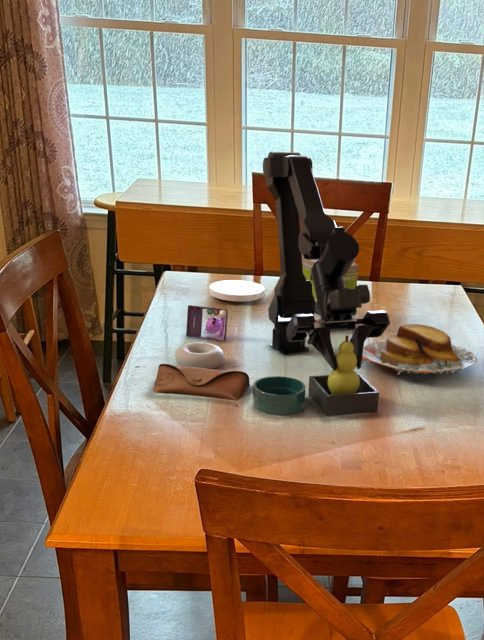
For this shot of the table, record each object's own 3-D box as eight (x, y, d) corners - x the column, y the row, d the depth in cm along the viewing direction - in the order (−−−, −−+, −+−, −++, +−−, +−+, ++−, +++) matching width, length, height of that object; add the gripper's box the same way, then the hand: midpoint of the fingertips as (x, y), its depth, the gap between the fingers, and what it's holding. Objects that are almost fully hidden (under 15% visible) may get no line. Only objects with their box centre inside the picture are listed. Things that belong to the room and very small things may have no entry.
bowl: (255, 397, 157) (255, 374, 155) (305, 400, 158) (306, 378, 155) (250, 417, 149) (250, 393, 147) (303, 420, 150) (304, 397, 147)
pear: (338, 389, 159) (342, 328, 152) (364, 398, 156) (369, 335, 150) (320, 398, 154) (324, 335, 148) (347, 407, 152) (352, 343, 145)
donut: (167, 369, 167) (215, 375, 165) (166, 352, 165) (214, 358, 163) (185, 353, 175) (230, 359, 173) (184, 337, 173) (230, 343, 172)
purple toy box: (187, 304, 181) (226, 309, 180) (193, 306, 186) (232, 311, 185) (185, 336, 183) (224, 340, 182) (191, 337, 188) (230, 341, 187)
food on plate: (346, 374, 171) (348, 343, 167) (372, 339, 191) (375, 311, 188) (467, 393, 166) (472, 361, 163) (481, 355, 187) (486, 326, 183)
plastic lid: (275, 299, 212) (276, 289, 211) (235, 308, 203) (235, 298, 202) (239, 286, 220) (239, 277, 218) (198, 295, 211) (198, 285, 209)
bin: (308, 399, 158) (309, 376, 156) (357, 395, 162) (358, 372, 159) (325, 420, 151) (327, 396, 148) (377, 415, 154) (379, 392, 151)
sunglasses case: (147, 394, 154) (150, 358, 153) (156, 400, 161) (159, 365, 160) (243, 402, 153) (246, 366, 153) (248, 408, 160) (251, 373, 160)
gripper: (293, 268, 142) (310, 352, 140) (391, 266, 149) (409, 346, 146) (278, 300, 153) (294, 379, 151) (371, 297, 159) (388, 372, 157)
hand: (347, 369), depth 151 cm, fingers closed on pear, 4 cm apart
